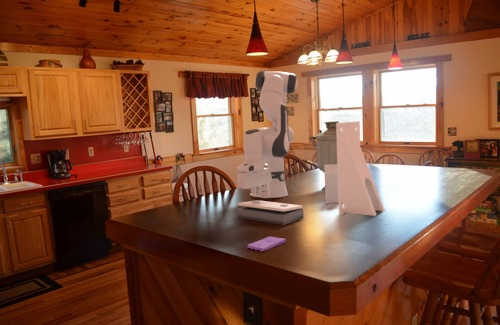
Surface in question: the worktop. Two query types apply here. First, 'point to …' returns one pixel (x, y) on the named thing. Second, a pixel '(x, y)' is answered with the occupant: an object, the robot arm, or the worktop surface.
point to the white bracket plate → (354, 174)
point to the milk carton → (331, 183)
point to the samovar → (326, 146)
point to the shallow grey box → (270, 215)
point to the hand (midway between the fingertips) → (256, 196)
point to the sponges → (266, 243)
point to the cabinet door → (270, 205)
